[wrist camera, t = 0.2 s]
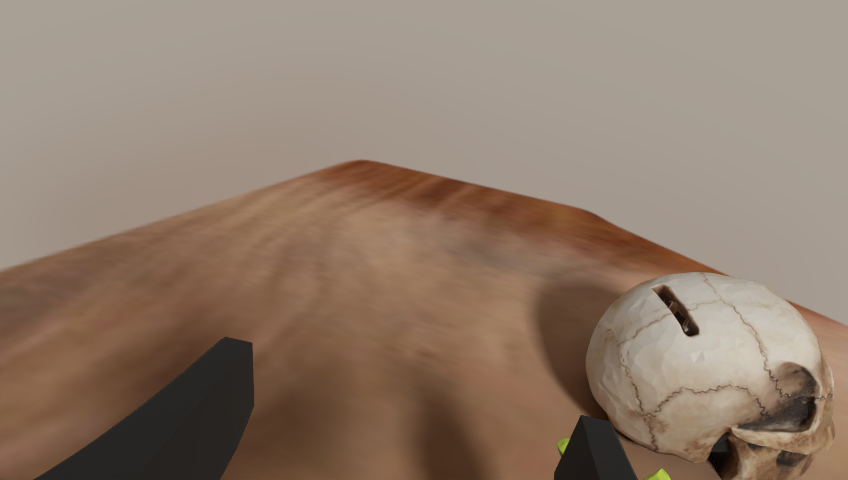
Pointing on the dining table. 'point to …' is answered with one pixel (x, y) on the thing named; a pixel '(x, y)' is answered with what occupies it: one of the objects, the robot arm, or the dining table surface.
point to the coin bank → (714, 375)
